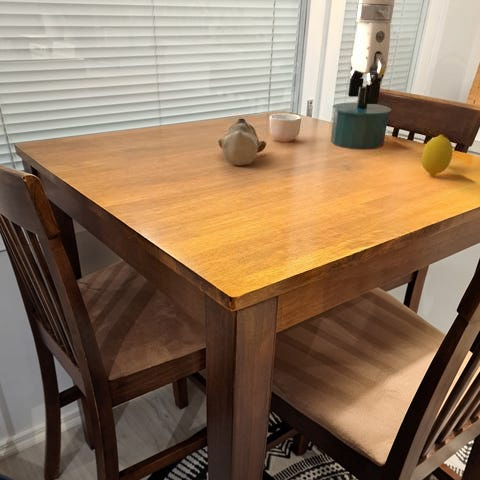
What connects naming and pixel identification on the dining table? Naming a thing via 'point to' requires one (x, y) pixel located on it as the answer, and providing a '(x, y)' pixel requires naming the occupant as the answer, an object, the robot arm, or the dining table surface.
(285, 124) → the teacup
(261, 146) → the ceramic sculpture
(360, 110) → the lid
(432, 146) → the lemon
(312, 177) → the dining table surface
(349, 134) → the pot
